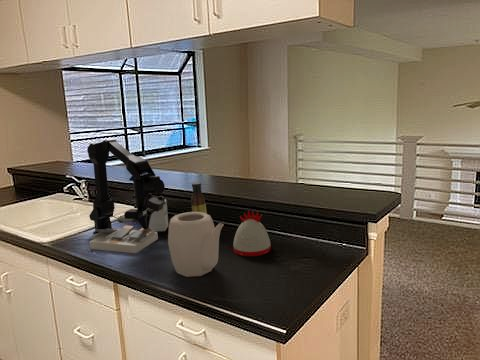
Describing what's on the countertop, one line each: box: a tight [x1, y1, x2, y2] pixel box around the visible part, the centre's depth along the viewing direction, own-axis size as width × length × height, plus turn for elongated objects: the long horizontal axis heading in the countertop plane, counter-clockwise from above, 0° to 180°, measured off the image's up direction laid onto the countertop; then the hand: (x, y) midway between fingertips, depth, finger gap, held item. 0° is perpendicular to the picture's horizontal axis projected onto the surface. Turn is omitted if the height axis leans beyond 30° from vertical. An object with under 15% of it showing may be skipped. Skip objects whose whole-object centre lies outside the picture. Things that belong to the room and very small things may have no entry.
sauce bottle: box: [190, 181, 208, 214], centre depth 179 cm, size 6×6×20 cm
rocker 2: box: [112, 224, 135, 239], centre depth 162 cm, size 4×9×2 cm, turn 160°
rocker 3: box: [129, 227, 153, 239], centre depth 159 cm, size 4×9×2 cm, turn 160°
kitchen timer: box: [232, 210, 272, 257], centre depth 150 cm, size 14×14×15 cm
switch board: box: [89, 228, 159, 254], centre depth 163 cm, size 23×16×4 cm
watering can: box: [167, 211, 224, 278], centre depth 131 cm, size 16×27×19 cm, turn 47°
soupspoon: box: [118, 214, 134, 223], centre depth 201 cm, size 22×3×7 cm
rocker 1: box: [96, 228, 117, 234], centre depth 165 cm, size 4×9×2 cm, turn 161°
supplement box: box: [149, 199, 169, 232], centre depth 179 cm, size 7×7×13 cm
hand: (146, 229), depth 163 cm, fingers closed, pressing on rocker 3
